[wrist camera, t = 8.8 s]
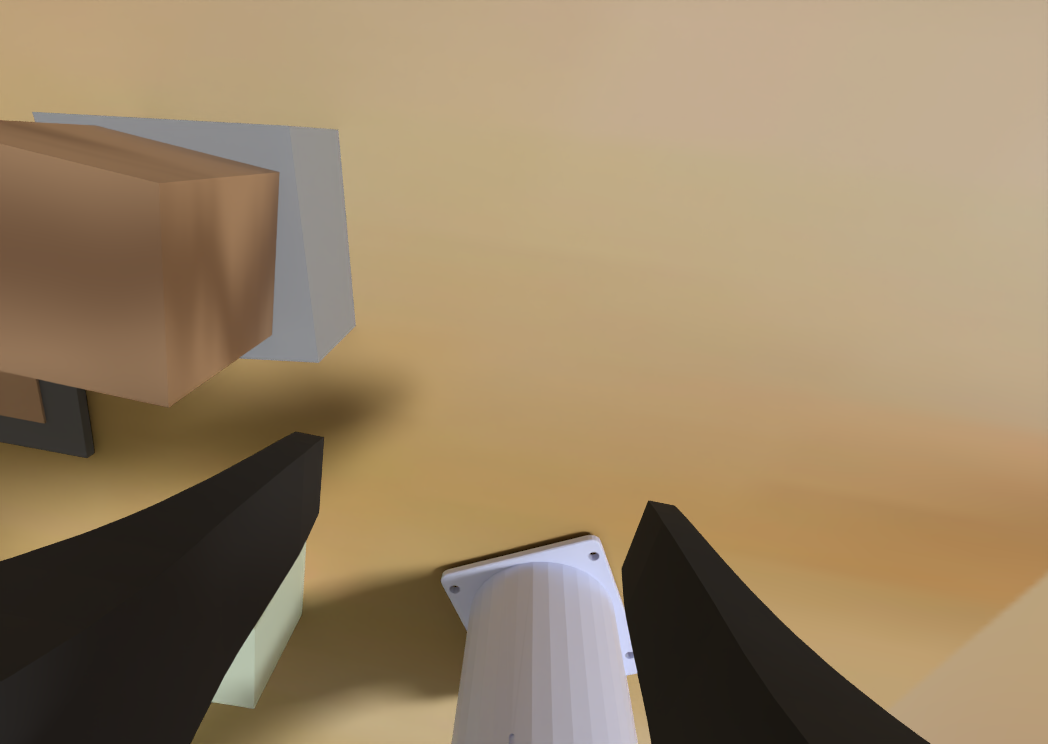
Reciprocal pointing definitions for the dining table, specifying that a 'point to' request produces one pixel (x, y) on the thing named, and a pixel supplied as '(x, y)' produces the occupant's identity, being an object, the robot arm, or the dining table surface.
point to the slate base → (279, 221)
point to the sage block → (265, 642)
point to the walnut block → (130, 260)
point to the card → (44, 415)
